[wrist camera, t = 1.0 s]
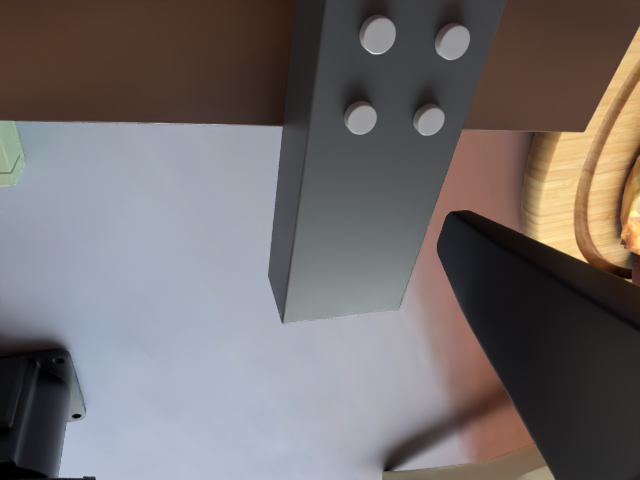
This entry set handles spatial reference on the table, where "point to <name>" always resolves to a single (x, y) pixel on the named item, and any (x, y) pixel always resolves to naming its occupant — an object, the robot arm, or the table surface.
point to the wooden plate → (592, 181)
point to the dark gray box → (368, 145)
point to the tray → (10, 154)
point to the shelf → (279, 62)
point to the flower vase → (485, 469)
